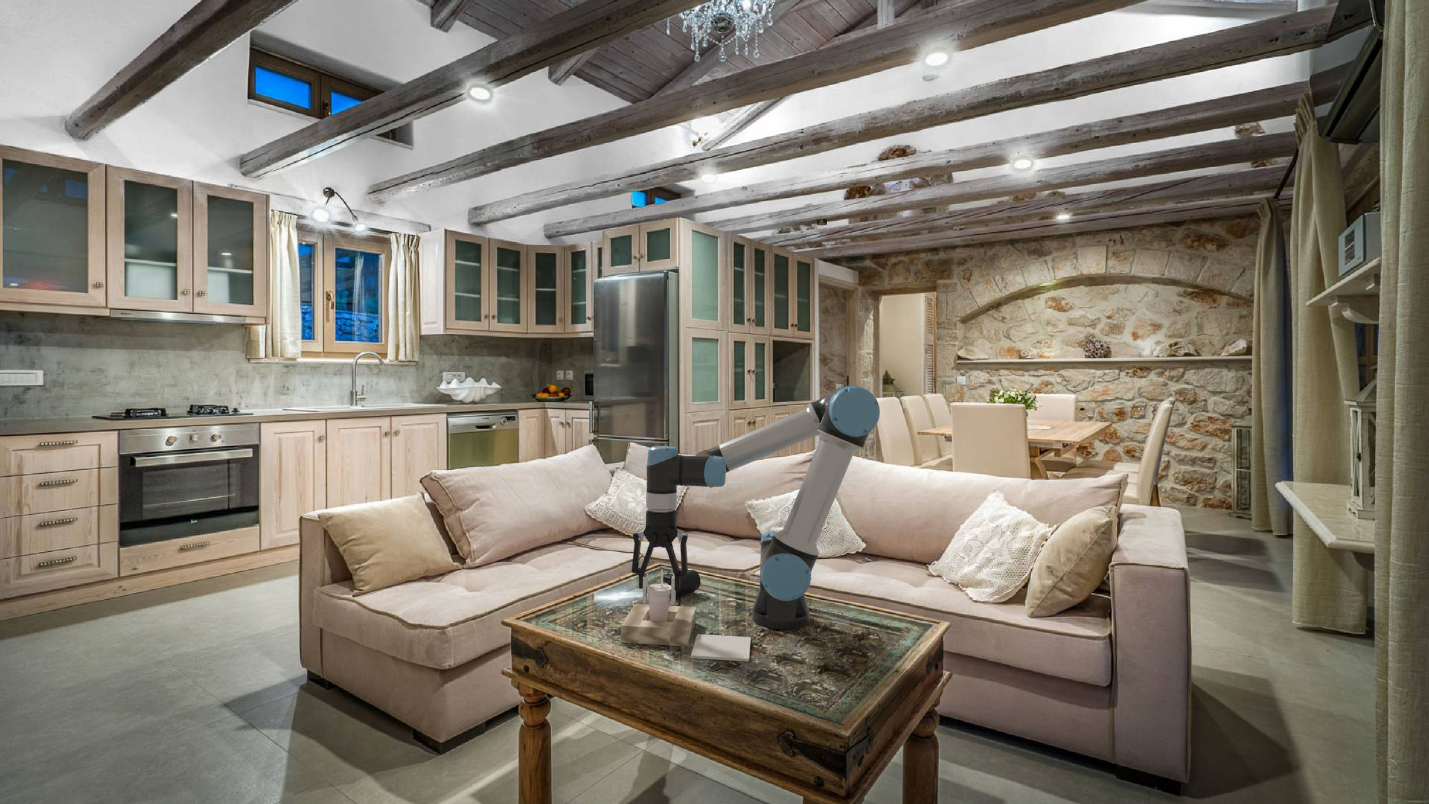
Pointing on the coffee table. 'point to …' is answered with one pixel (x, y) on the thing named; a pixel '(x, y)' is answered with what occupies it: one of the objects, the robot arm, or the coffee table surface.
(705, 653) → the tile
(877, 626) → the coffee table surface
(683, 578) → the end cap
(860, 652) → the coffee table surface
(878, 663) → the coffee table surface
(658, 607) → the smoothie
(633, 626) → the frame
